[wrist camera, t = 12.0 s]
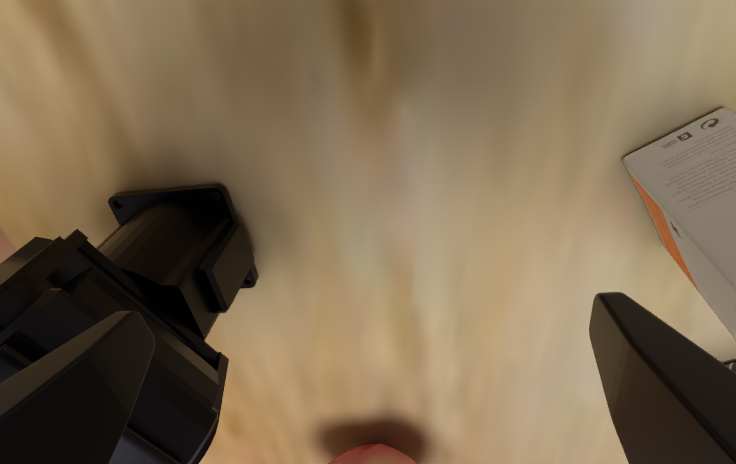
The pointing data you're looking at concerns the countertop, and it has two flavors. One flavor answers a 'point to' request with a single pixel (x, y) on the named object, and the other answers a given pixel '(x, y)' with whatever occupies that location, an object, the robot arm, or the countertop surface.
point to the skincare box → (696, 204)
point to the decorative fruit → (373, 455)
